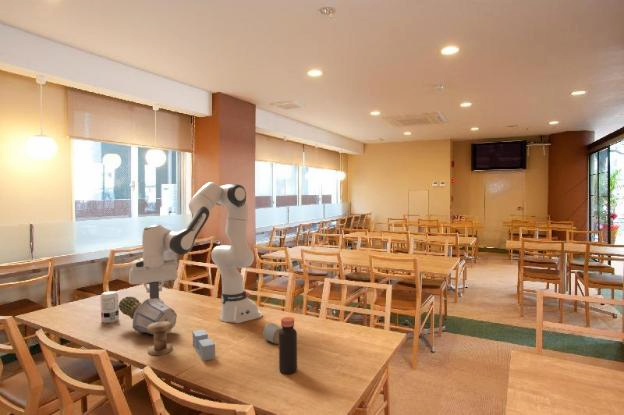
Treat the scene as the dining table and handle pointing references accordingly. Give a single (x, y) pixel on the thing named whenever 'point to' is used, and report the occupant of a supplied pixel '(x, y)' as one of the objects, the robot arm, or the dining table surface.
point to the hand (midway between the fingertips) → (154, 291)
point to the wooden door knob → (160, 338)
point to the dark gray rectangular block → (154, 290)
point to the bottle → (287, 346)
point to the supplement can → (109, 307)
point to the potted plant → (147, 313)
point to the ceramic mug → (272, 332)
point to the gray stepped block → (203, 345)
